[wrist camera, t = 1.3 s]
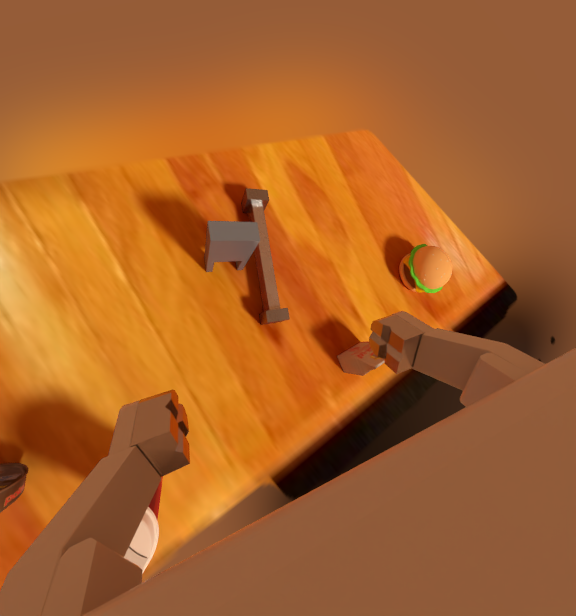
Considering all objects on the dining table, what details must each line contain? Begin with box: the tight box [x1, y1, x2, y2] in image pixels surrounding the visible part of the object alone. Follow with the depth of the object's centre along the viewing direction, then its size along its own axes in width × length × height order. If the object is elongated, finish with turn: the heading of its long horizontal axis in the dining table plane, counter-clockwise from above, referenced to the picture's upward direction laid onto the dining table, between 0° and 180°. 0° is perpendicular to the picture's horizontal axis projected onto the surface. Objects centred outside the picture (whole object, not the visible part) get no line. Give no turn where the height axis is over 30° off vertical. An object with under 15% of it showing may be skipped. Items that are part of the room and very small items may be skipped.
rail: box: [241, 189, 289, 325], centre depth 43 cm, size 24×4×4 cm, turn 10°
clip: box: [204, 221, 260, 272], centre depth 36 cm, size 6×3×13 cm, turn 100°
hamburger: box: [399, 244, 452, 293], centre depth 56 cm, size 12×12×9 cm
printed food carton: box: [337, 342, 385, 376], centre depth 45 cm, size 4×7×10 cm, turn 115°
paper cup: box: [124, 476, 163, 574], centre depth 27 cm, size 8×8×14 cm
